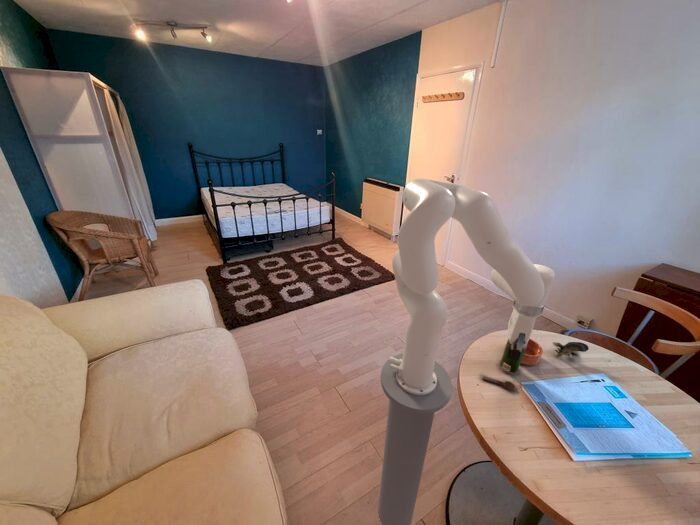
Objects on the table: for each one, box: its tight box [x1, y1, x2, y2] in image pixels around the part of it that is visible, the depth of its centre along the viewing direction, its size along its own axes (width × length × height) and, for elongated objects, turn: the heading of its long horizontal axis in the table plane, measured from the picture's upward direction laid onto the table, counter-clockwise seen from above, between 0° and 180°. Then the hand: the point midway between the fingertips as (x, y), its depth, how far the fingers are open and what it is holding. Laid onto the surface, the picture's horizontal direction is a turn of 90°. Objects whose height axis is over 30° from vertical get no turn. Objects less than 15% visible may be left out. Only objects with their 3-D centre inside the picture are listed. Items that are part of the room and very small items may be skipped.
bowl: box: [521, 338, 544, 366], centre depth 97 cm, size 10×10×4 cm
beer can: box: [499, 338, 527, 375], centre depth 90 cm, size 5×5×12 cm
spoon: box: [482, 375, 516, 392], centre depth 87 cm, size 9×3×1 cm, turn 64°
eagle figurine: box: [552, 341, 590, 361], centre depth 97 cm, size 8×7×9 cm
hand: (512, 351), depth 90 cm, fingers closed on beer can, 5 cm apart
